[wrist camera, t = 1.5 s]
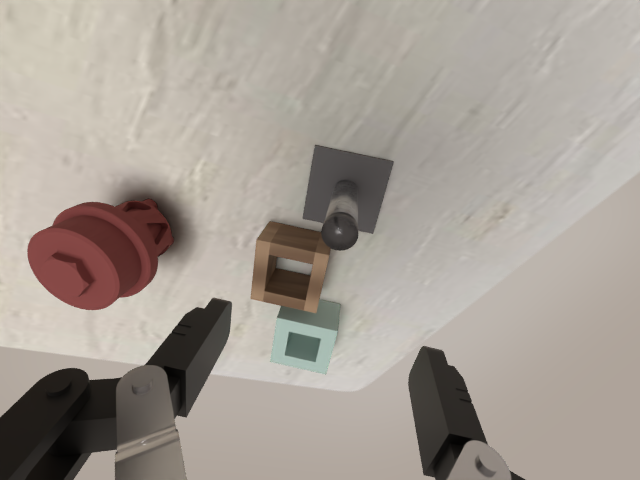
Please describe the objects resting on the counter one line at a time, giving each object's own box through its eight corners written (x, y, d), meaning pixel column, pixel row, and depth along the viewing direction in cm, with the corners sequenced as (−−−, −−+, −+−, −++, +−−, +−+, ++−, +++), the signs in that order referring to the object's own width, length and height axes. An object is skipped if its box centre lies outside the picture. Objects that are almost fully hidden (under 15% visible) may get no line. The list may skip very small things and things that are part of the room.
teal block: (286, 292, 39) (276, 317, 34) (340, 304, 39) (337, 331, 34) (279, 333, 42) (270, 361, 37) (329, 344, 42) (326, 374, 37)
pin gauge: (335, 176, 32) (325, 213, 22) (361, 182, 32) (362, 221, 22) (330, 201, 33) (318, 246, 23) (355, 206, 33) (353, 253, 23)
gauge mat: (315, 145, 31) (314, 145, 31) (393, 161, 31) (393, 161, 30) (302, 217, 34) (302, 218, 34) (372, 232, 34) (373, 233, 34)
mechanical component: (137, 165, 34) (207, 227, 36) (97, 220, 38) (162, 274, 40) (30, 198, 23) (140, 285, 25) (-13, 272, 26) (87, 342, 29)
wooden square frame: (269, 221, 35) (256, 239, 30) (333, 234, 35) (329, 255, 30) (263, 275, 38) (250, 298, 34) (321, 287, 38) (316, 313, 33)
